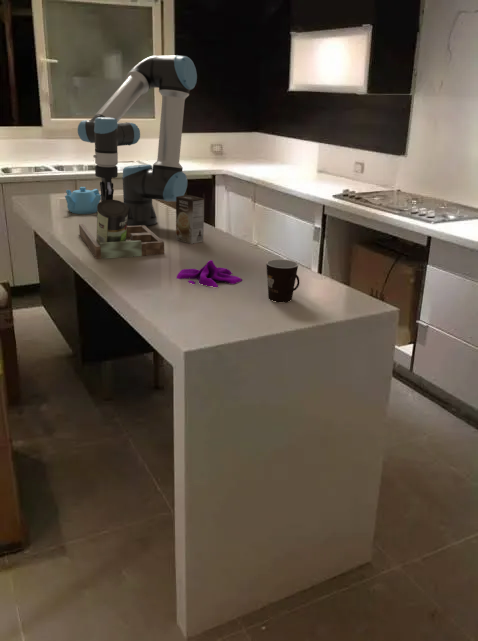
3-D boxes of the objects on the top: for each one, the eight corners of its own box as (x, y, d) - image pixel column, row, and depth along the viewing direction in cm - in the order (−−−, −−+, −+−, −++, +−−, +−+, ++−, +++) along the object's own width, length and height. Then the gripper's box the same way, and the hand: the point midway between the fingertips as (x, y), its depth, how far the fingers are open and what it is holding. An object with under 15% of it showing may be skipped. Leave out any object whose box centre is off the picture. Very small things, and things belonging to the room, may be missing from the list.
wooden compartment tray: (139, 231, 241) (139, 218, 239) (164, 254, 210) (164, 239, 208) (79, 234, 232) (78, 221, 231) (96, 259, 201) (95, 244, 200)
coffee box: (175, 239, 230) (174, 196, 224) (187, 237, 235) (187, 194, 229) (191, 244, 224) (192, 199, 219) (204, 241, 229) (205, 198, 223)
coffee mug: (262, 293, 174) (264, 259, 170) (293, 293, 174) (295, 259, 171) (268, 307, 163) (270, 271, 159) (300, 307, 164) (302, 271, 160)
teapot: (102, 215, 268) (100, 189, 264) (66, 215, 265) (64, 190, 261) (101, 208, 282) (100, 184, 278) (67, 208, 279) (65, 184, 275)
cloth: (167, 274, 190) (167, 254, 188) (222, 268, 198) (223, 249, 196) (195, 295, 172) (195, 274, 170) (254, 288, 180) (255, 268, 177)
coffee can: (130, 238, 219) (132, 204, 210) (119, 253, 212) (122, 219, 202) (102, 230, 220) (104, 196, 211) (91, 245, 212) (92, 210, 203)
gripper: (92, 162, 215) (93, 229, 223) (98, 167, 204) (99, 237, 212) (113, 162, 217) (114, 228, 226) (121, 168, 206) (121, 237, 215)
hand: (107, 232), depth 219 cm, fingers closed
